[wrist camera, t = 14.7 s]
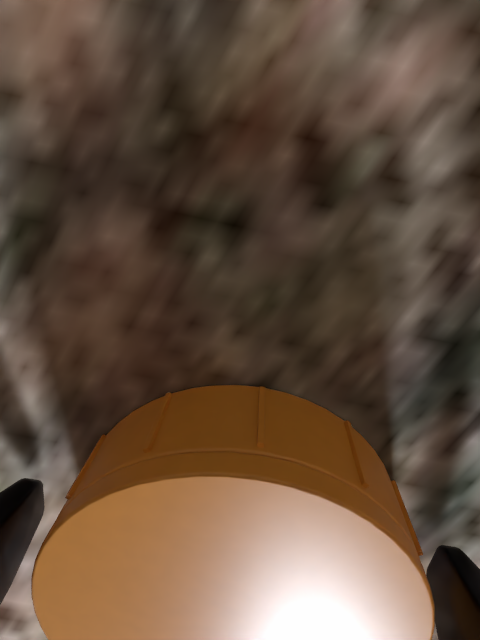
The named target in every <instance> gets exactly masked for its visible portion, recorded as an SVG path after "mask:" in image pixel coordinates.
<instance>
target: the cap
mask: <svg viewBox="0 0 480 640" xmlns="http://www.w3.org/2000/svg"><path fill="white" fill-rule="evenodd" d="M65 498H67V499H68V500H67V502H66V503H65V505H64V507H63V509H62V510H61V512H60V514H59V516H58V517H57V520H56V521H55V523H54V524H53V526H52V528H51V529H50V531H49V533H48V535H47V536H46V538H45V540H44V542H43V543H42V546H41V548H40V550H39V552H38V555H37V557H36V559H35V564H34V569H33V573H32V600H33V605H34V610H35V613H36V616H37V618H38V621H39V623H40V626H41V628H42V630H43V631H44V633H45V635H46V636H47V638H48V640H432V635H433V631H434V624H435V615H434V601H433V597H432V592H431V588H430V585H429V582H428V580H427V577H426V574H425V572H424V569H423V566H422V564H421V562H420V558H419V556H420V555H423V553H422V550H421V547H420V545H419V542H418V539H417V537H416V534H415V532H414V529H413V526H412V524H411V521H410V519H409V516H408V513H407V511H406V508H405V506H404V503H403V500H402V498H401V495H400V493H399V490H398V487H397V485H396V482H395V480H393V481H391V480H390V478H389V475H388V473H387V471H386V469H385V466H384V464H383V463H382V461H381V459H380V458H379V456H378V455H377V453H376V452H375V450H374V449H373V448H372V447H371V445H370V444H369V443H368V442H367V441H366V440H365V439H364V438H363V436H362V435H361V434H359V433H358V432H357V431H356V430H355V429H354V428H352V426H351V423H350V422H349V421H347V420H346V421H344V420H342V419H341V418H339V417H338V416H336V415H334V414H333V413H331V412H330V411H328V410H327V409H325V408H323V407H321V406H318V405H316V404H314V403H312V402H310V401H308V400H306V399H303V398H300V397H297V396H294V395H291V394H288V393H285V392H281V391H276V390H272V389H267V388H265V387H262V386H260V387H254V386H244V385H213V386H205V387H197V388H191V389H187V390H183V391H179V392H175V393H171V392H169V393H166V395H165V396H164V397H161V398H158V399H156V400H153V401H151V402H149V403H148V404H146V405H144V406H142V407H140V408H138V409H137V410H135V411H133V412H132V413H131V414H129V415H128V416H127V417H125V418H124V419H123V420H121V421H120V422H119V423H118V424H117V425H116V426H115V427H114V428H113V429H112V430H111V431H110V432H109V433H108V434H107V435H104V434H103V435H102V436H101V437H100V439H99V441H98V442H97V444H96V446H95V448H94V449H93V451H92V453H91V454H90V456H89V458H88V459H87V461H86V463H85V465H84V466H83V468H82V470H81V471H80V473H79V475H78V477H77V478H76V480H75V482H74V483H73V485H72V487H71V488H70V490H69V492H68V494H67V495H66V497H65Z"/></svg>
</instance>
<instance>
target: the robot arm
mask: <svg viewBox="0 0 480 640" xmlns="http://www.w3.org/2000/svg"><path fill="white" fill-rule="evenodd" d="M43 512H44V494H43V484H42V482H41V481H39V480H34V479H28V478H24V479H21V480H19V481H17V482H16V483H14V484H13V485H11V486H10V487H8V488H7V489H5V490H3V491H2V492H0V604H1V603H2V601H3V599H4V597H5V595H6V593H7V592H8V590H9V588H10V586H11V584H12V582H13V579H14V577H15V575H16V573H17V571H18V569H19V566H20V564H21V562H22V560H23V558H24V556H25V553H26V551H27V549H28V547H29V545H30V542H31V540H32V538H33V536H34V534H35V531H36V529H37V527H38V525H39V523H40V521H41V518H42V516H43ZM426 577H427V580H428V582H429V585H430V588H431V592H432V597H433V601H434V615H435V624H436V629H437V634H438V639H439V640H480V569H479V568H478V567H477V566H476V565H475V564H474V563H473V562H472V561H471V560H470V558H469V557H468V556H467V555H466V554H465V553H464V552H463V551H462V550H460V549H459V548H456V547H451V546H445V545H441V546H439V547H438V548H437V550H436V552H435V554H434V556H433V558H432V560H431V562H430V564H429V566H428V568H427V574H426Z"/></svg>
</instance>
